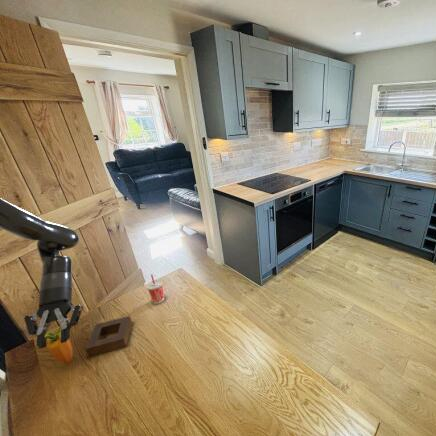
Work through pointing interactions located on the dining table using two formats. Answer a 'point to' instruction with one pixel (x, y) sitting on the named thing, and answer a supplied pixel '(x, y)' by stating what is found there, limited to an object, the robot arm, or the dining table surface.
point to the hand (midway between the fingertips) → (53, 344)
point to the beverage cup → (155, 290)
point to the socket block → (112, 343)
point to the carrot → (59, 347)
